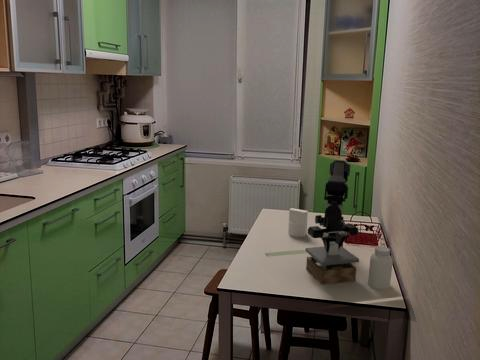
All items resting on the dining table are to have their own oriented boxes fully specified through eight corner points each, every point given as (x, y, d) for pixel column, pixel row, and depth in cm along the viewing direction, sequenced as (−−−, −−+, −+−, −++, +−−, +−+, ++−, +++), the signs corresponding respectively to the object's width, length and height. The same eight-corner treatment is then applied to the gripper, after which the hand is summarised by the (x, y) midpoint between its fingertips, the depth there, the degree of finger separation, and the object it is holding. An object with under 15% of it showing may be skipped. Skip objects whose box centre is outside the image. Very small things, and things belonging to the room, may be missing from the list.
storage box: (337, 268, 190) (338, 254, 188) (355, 282, 176) (356, 267, 175) (306, 271, 186) (306, 257, 185) (321, 286, 173) (322, 271, 171)
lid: (339, 247, 188) (340, 235, 187) (358, 262, 174) (359, 249, 173) (305, 250, 184) (306, 238, 183) (321, 265, 170) (322, 252, 169)
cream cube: (321, 270, 185) (322, 261, 184) (325, 273, 182) (326, 265, 181) (313, 271, 184) (314, 262, 183) (317, 274, 181) (318, 266, 180)
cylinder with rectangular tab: (309, 233, 231) (310, 209, 229) (301, 238, 224) (303, 214, 221) (293, 229, 236) (294, 206, 233) (285, 234, 229) (286, 210, 226)
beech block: (340, 273, 182) (341, 266, 182) (345, 278, 178) (346, 270, 178) (331, 274, 181) (331, 267, 180) (336, 279, 177) (336, 271, 177)
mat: (303, 250, 208) (303, 249, 208) (321, 266, 191) (321, 265, 191) (265, 253, 203) (265, 252, 203) (279, 270, 186) (279, 269, 186)
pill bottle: (386, 293, 168) (390, 254, 165) (364, 287, 172) (368, 249, 169) (392, 285, 175) (396, 247, 172) (371, 280, 179) (374, 243, 176)
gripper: (346, 205, 185) (343, 243, 189) (302, 208, 181) (300, 246, 184) (360, 213, 175) (357, 253, 178) (314, 216, 170) (312, 257, 173)
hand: (331, 252), depth 179 cm, fingers closed on lid, 3 cm apart
